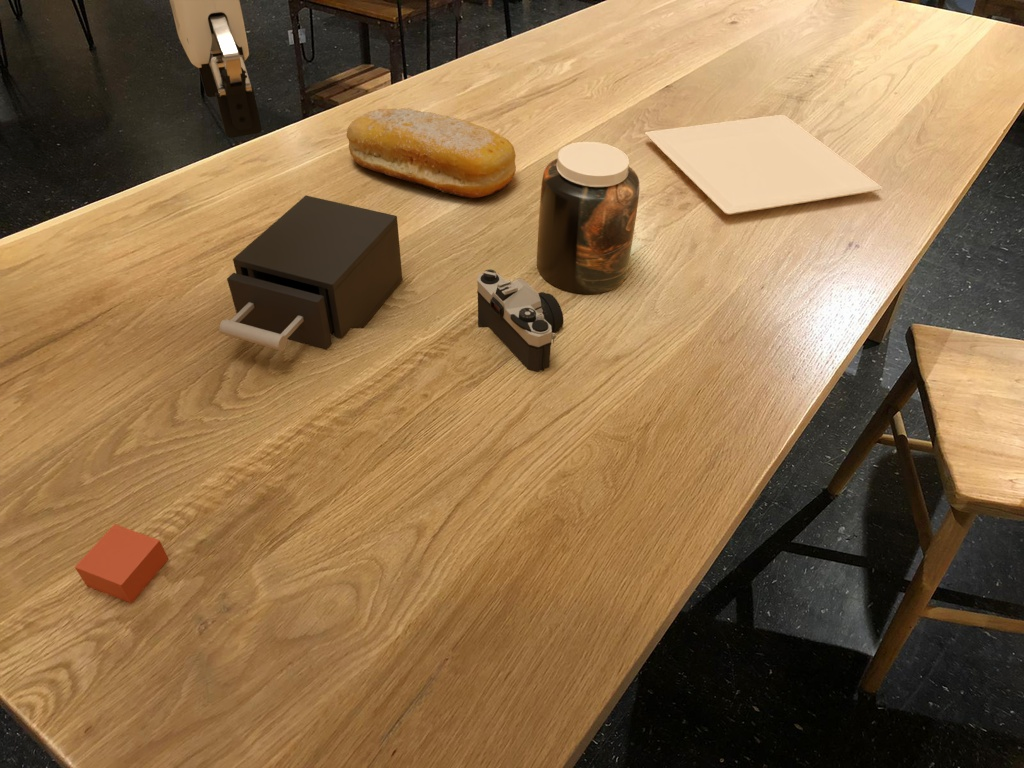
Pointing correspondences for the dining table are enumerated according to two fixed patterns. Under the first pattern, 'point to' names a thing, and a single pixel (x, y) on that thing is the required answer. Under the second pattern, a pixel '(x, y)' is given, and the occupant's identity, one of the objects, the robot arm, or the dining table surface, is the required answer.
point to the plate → (760, 163)
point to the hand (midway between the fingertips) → (233, 113)
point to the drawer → (278, 311)
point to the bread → (433, 151)
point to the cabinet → (332, 256)
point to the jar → (587, 218)
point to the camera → (519, 317)
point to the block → (122, 563)
